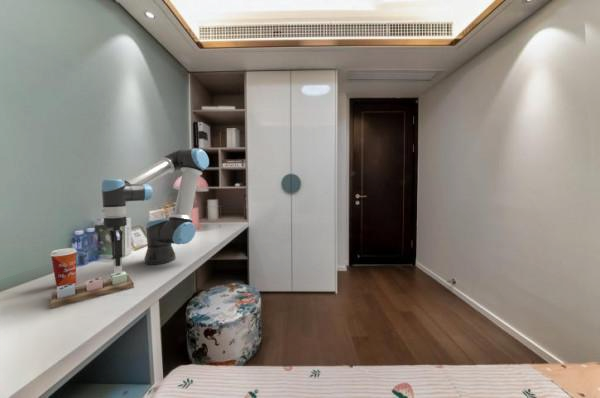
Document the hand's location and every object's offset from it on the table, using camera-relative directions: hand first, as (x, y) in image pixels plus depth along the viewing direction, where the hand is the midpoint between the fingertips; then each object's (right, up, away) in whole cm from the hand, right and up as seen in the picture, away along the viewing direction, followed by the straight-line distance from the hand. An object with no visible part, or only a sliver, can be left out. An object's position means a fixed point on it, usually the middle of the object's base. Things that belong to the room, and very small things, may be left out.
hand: (118, 273), depth 102 cm
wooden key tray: (-6, -6, -5) cm, 10 cm away
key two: (-6, -5, -5) cm, 9 cm away
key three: (-11, -5, -11) cm, 16 cm away
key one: (0, -4, 0) cm, 4 cm away
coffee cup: (-25, -6, +3) cm, 26 cm away
